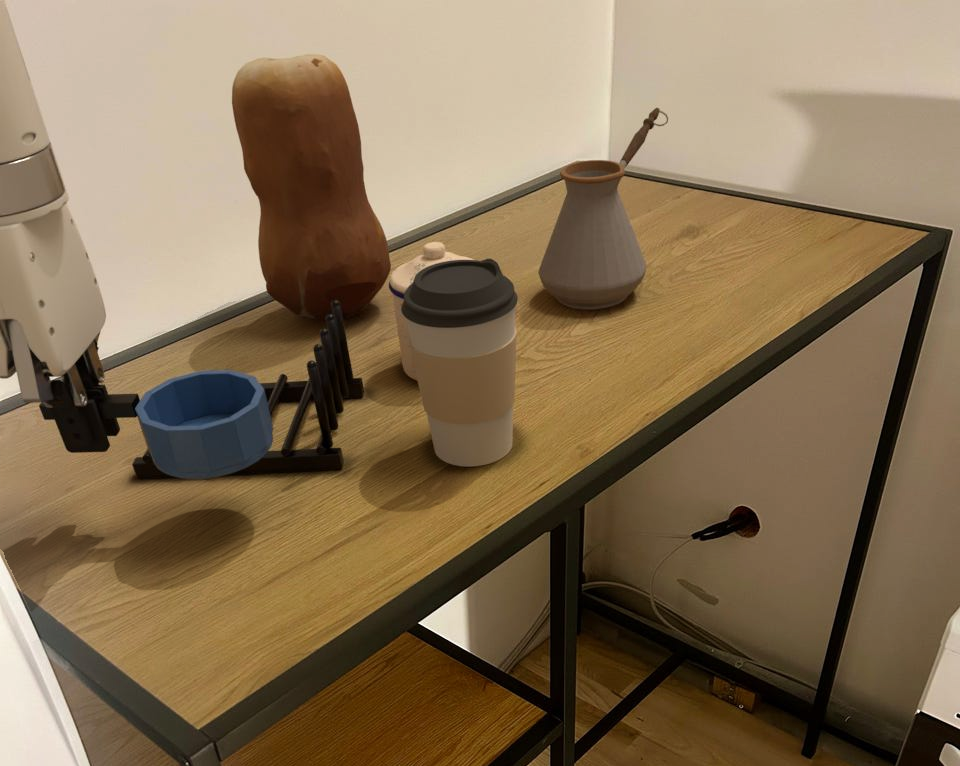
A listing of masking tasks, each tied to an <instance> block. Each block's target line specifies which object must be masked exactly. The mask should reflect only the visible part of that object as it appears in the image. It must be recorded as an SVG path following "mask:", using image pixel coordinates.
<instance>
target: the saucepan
mask: <svg viewBox="0 0 960 766" xmlns="http://www.w3.org/2000/svg"><path fill="white" fill-rule="evenodd" d="M255 377H256V376H254V375H251V374H247V373H244V372H240V371H236V370H233V369H220V370H219V369H218V370H217V369H216V370H215V369H214V370H199V371H194V372H191V373H187V374H183V375H179V376H176V377H172V378H169V379H166V380H165V381H163V382H161V383H160V384H158V385H156V386H155V387H153V388H151V389H149V390H147V391H146V392H144V393H143V395H142V397H141V398H140V397H139V394H138V393H108V394H104V395H87V400H94V401H95V404H96V407H97V409H98V412H99V415H100V418H117V419H129V418H132V419H133V418H137V420H138V423H139V426H140V429H141V432H142V436H143V438H144V441H145V444H146V447H147V449H148V450H149V452H150V454H151V456H152V459H153V462H154V464H155V466H156V467H157V468H158V469H159V470H160V471H162V472H164V473H166V474H168V475H170V476H174V477H173V478H179V479H187V480H205V479H213V478H214V479H215V478H218V477H219V478H220V477H224V476H227V474H231V473H234V472H237V471H239V470H242V469H244V468H246V467H248V466H250V465H252V464H254V463H255V462H257V461H258V460H259V459H261V458H262V457H263V456H264V455H265V454H266V453H267V452H268V451H270V449H271V448H272V445H273V442H274V435H273V432H274V426H273V422H272V417H270V412H269V408H268V403H267V399H266V395H265V390H264V388H263V387H262V386H261V384H260V383H261V382H259V380H258V379H257V378H255ZM38 407H39V410H40V413H41V415H42V417H43V419H44V421H55V420H54V417H53V415H52V412H51V409H50V408H47V407H45V405H44V403H43V402H40V404H39V405H38Z"/></svg>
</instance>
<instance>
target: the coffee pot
mask: <svg viewBox="0 0 960 766" xmlns="http://www.w3.org/2000/svg"><path fill="white" fill-rule="evenodd" d="M660 114H663V115H664V116H665V118H666V122H663V123H661V124H659V123H656V122H655V121H656V120H657V119H658V117H659V115H660ZM668 122H669V116H668V114H667V113H666V112H664V111H663V110H660V108H659V107H655V108H654V109H653V110H652V111H650V112H649V113H648V117H647V118H645V119H644V120H643V121H642V126H641V127H640V128H639V130H637V132H635V134H634V135H633V137H632V139H631V140H630V142H629V144H628V146H627V148H626V149H625V151H624V153H623V155H622V157H621V158H620V160H619V162H617V161H613V160H606V159H592V160H582V161H576V162H572V163H570V164H568V165H565V166H563V167H561V169H560V171H559V175H560V177H561V179H563V181H564V184H565V188H566V195H565V197H564V200H563V203H562V205H561V208H560V211H559V214H558V217H557V219H556V222H555V225H554V228H553V230H552V233H551V236H550V238H549V241H548V244H547V246H546V249H545V252H544V255H543V258H542V259H541V263H540V266H539V269H538V277H539V280H540V282H541V284H542V286H543V288H544V289H545V290H546V291H547V292H548V293H549V294H551V295H552V297H553V298H556V299H557V302H558V303H560V305H564V306H565V307H567V308H572V309H577V310H600V309H606V308H611V307H613V306H616V305H620V304H621V303H622V302H624V301H625V300H626V299H627V298H628V296H629V295H630V294H632V293H633V292H634V291H635V290H636V289H637V288H638V287H639V286H640V284H641V283H642V282H643V279H644V278H645V276H646V272H647V263H646V260H645V257H644V255H643V252H642V249H641V247H640V245H639V242H638V239H637V237H636V234H635V231H634V229H633V226H632V224H631V221H630V219H629V215H628V214H627V211H626V209H625V206H624V203H623V200H622V198H621V195H620V192H619V191H618V188H619V184H620V182H621V180H622V178H624V176H625V173H626V167H627V166H628V165H629V163H630V162H631V161H632V159H634V157H635V156H636V154H637V153H638V152H639V150H640V149H641V147H642V146H643V145H644V143H645V141H646V138H647V137H648V134H649V131H651V130H652V129H653V128H654V127H655V126H657V127H664V126H665V125H666V124H668Z"/></svg>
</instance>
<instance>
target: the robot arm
mask: <svg viewBox="0 0 960 766" xmlns="http://www.w3.org/2000/svg"><path fill="white" fill-rule="evenodd" d="M22 53H23V52H22V50H21V47H20V44H19V41H18V38H17V35H16V31H15V29H14V26H13V22H12V20H11V17H10V13H9V10H8V7H7V4H6V0H0V379H2V380H3V379H9V378H11V377H13V376H14V375H15V374H16V377H17V382H18V386H19V391H20V395H21V399H22V401H23V402H24V403H26V404H34V403H38V404H39V403H41V402H43V403H44V405H45V407H47V408H50V409H51V412H52V415H53V417H54V420H53V421H54V422H55V424H56V427H57V429H58V432H59V434H60V437H61V440H62V442H63V444H64V447H65V449H66V451H67V452H69V453H73V454H75V453H76V454H82V453H106V452H107V451H108V450H109V449H110V446H111V443H110V440H109V437H117V436H118V435H119V433H120V431H121V426H120V424H119V422H118V418H100V415H99V412H98V409H97V407H96V404H95V401H94V400H87V395H104V394H109V393H108V389H107V387H106V384H103V383H104V382H105V371H104V368H103V364H102V362H101V359H100V356H99V347H100V346H99V347H98V345H99V343H98V342H99V338H100V335H101V331H102V329H103V327H104V326H105V323H106V321H107V320H106V319H107V312H106V307H105V303H104V299H103V296H102V293H101V289H100V285H99V283H98V280H97V279H98V278H97V276H96V273H95V270H94V268H93V264H92V262H91V259H90V256H89V254H88V251H87V249H86V246H85V244H84V242H83V241H84V240H83V239H82V236H81V233H80V231H79V228H78V226H77V224H76V221H75V219H74V217H73V215H72V212H71V210H70V208H69V205H68V201H69V200H70V198H69V194H68V191H67V188H66V184H65V182H64V179H63V175H62V173H61V169H60V167H59V163H58V161H57V157H56V154H55V151H54V148H53V145H52V142H51V139H50V136H49V133H48V131H47V127H46V124H45V121H44V118H43V115H42V112H41V109H40V106H39V105H40V104H39V103H38V98H37V97H36V93H35V90H34V87H33V84H32V80H31V78H30V76H29V72H28V69H27V65H26V62H25V60H24V56H23V54H22ZM53 377H56V378H60V377H61V379H51V378H53Z"/></svg>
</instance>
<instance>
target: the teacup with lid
mask: <svg viewBox="0 0 960 766" xmlns="http://www.w3.org/2000/svg"><path fill="white" fill-rule="evenodd" d="M422 251H423V253H422V254H420V255H419V254H418V256H416V257H415V258H413V259H412V260H409V261H407V262H404V263H403V264H401V265H399V266H397V268H395V269H394V270H393V272H392V273H391V275H390V276H389V281H388V289H389V291H390V293H392V294H391V295H392V301H393V307H394V314H395V321H396V322H395V323H396V327H397V328H396V329H397V335H398V343H399V350H400V356H401V357H400V358H401V363H402V364H401V365H402V369H403V371H404V373H405V374H406V375H407V376H408V377H409V378H411V379H412V380H414V381H416V382H418V380H417V376H416V371H415V367H414V363H413V358H412V354H411V350H410V345H409V336H410V335H409V330H408V325H407V321H406V317H405V316H404V315H403V314H402V311H401V307H402V304H403V302H404V293H405V291H406V289H407V288H408V287H409V286H410V285H411V284H412V283H413V281H414V278H415V276H416V274H417V273H418V272H419V271H421V270H422V269H424V268H426V267H428V266H431V265H434V264H437V263H441V262H446V261H452V260H475V258H470V257H468V256H464V255H457V254H456V253H454V252H450V251H446V245H445V244H444V243H442V242H440V241H431V242H428V243H426V244H424V246H423V248H422ZM518 312H519V301H518V302H517V304H516V306H515V319H516V317H517V315H518Z"/></svg>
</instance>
